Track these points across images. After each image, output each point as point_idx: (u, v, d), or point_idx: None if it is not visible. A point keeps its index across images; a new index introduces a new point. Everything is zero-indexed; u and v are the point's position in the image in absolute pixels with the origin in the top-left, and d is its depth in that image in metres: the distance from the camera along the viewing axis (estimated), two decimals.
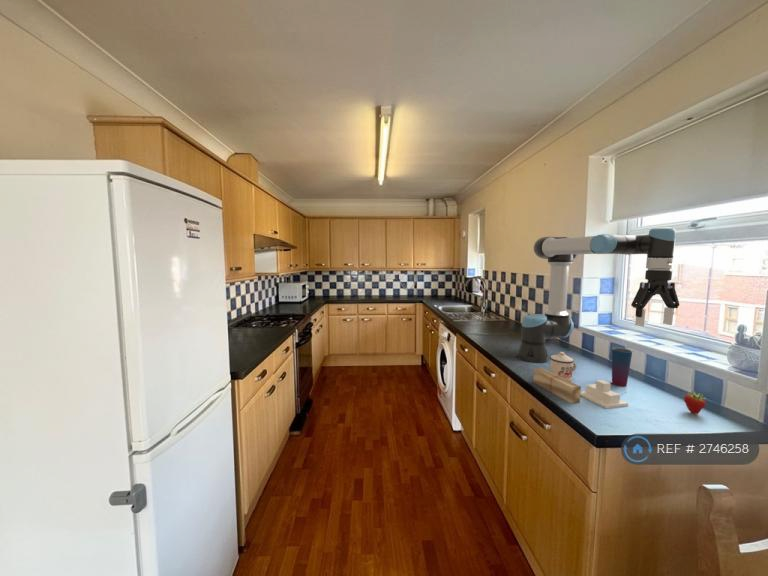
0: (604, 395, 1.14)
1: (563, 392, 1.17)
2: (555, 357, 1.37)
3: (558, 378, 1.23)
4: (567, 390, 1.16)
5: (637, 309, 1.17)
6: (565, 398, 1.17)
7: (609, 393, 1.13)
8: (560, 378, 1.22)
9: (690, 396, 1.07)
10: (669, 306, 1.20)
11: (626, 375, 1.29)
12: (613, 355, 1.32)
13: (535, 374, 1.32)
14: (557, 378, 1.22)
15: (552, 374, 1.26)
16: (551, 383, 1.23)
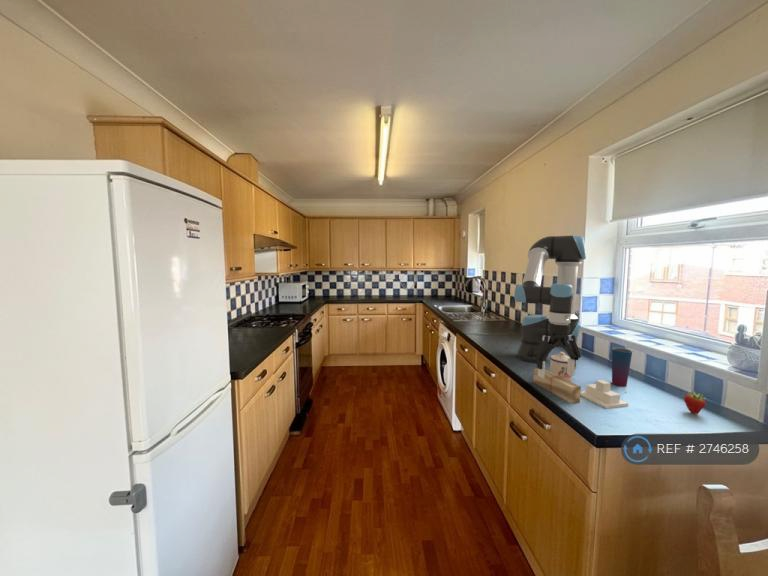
0: (604, 395, 1.14)
1: (563, 392, 1.17)
2: (555, 357, 1.37)
3: (558, 378, 1.23)
4: (567, 390, 1.16)
5: (538, 361, 1.21)
6: (565, 398, 1.17)
7: (609, 393, 1.13)
8: (560, 378, 1.22)
9: (690, 396, 1.07)
10: (571, 357, 1.24)
11: (626, 375, 1.29)
12: (613, 355, 1.32)
13: (535, 374, 1.32)
14: (557, 378, 1.22)
15: (552, 374, 1.26)
16: (551, 383, 1.23)
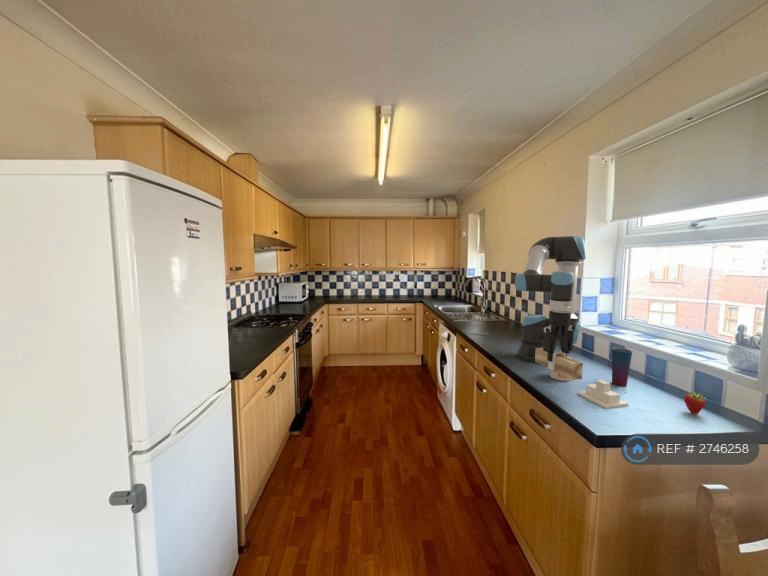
0: (604, 395, 1.14)
1: (565, 369, 1.17)
2: None
3: (560, 356, 1.22)
4: (569, 367, 1.15)
5: (548, 354, 1.22)
6: (567, 375, 1.16)
7: (609, 393, 1.13)
8: (562, 356, 1.22)
9: (690, 396, 1.07)
10: (563, 350, 1.24)
11: (626, 375, 1.29)
12: (613, 355, 1.32)
13: (536, 353, 1.32)
14: (559, 356, 1.22)
15: (554, 352, 1.26)
16: None
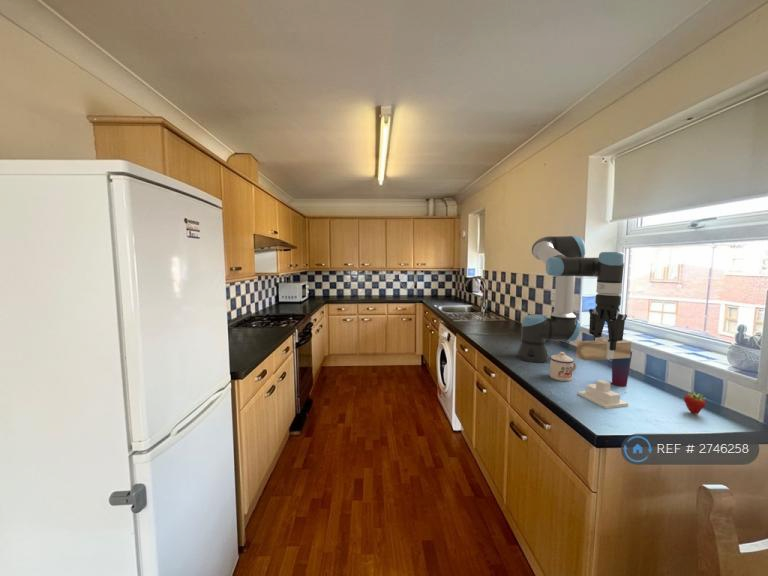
0: (604, 395, 1.14)
1: None
2: (555, 357, 1.37)
3: (602, 341, 1.15)
4: None
5: None
6: None
7: (609, 393, 1.13)
8: (602, 342, 1.14)
9: (690, 396, 1.07)
10: None
11: (626, 375, 1.29)
12: None
13: None
14: (599, 341, 1.15)
15: None
16: None
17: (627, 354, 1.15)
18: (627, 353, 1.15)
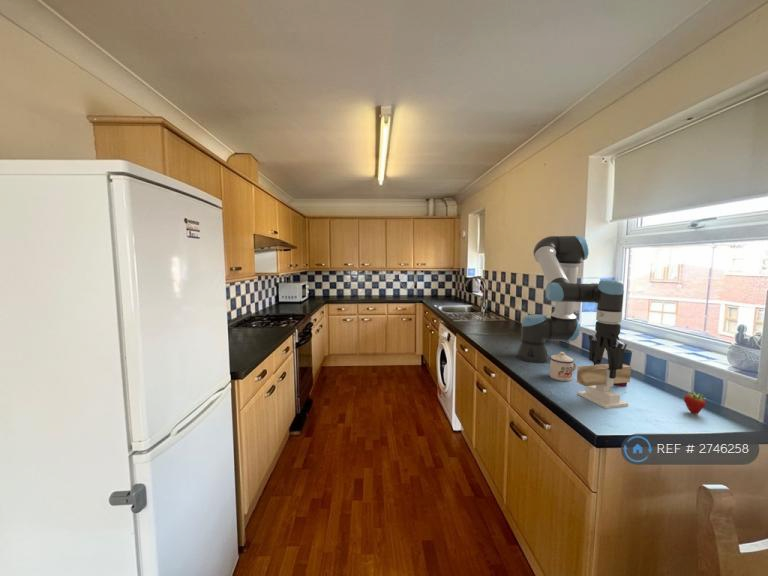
0: (604, 395, 1.14)
1: None
2: (555, 357, 1.37)
3: (602, 366, 1.15)
4: None
5: None
6: None
7: (609, 393, 1.13)
8: (602, 367, 1.15)
9: (690, 396, 1.07)
10: None
11: None
12: None
13: None
14: (599, 366, 1.16)
15: None
16: None
17: (627, 378, 1.16)
18: (627, 377, 1.16)
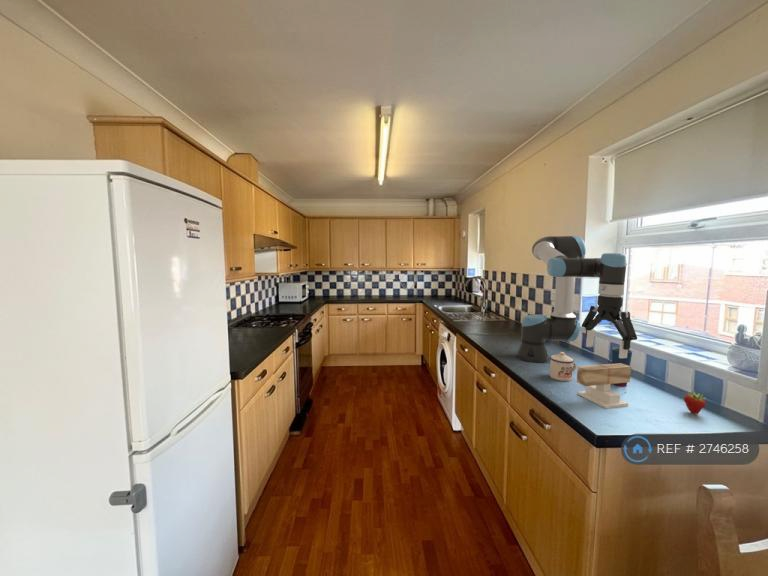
0: (604, 395, 1.14)
1: None
2: (555, 357, 1.37)
3: (602, 366, 1.15)
4: None
5: None
6: None
7: (609, 393, 1.13)
8: (602, 367, 1.15)
9: (690, 396, 1.07)
10: None
11: None
12: (613, 355, 1.32)
13: None
14: (599, 366, 1.16)
15: (611, 366, 1.16)
16: None
17: (627, 378, 1.16)
18: (627, 377, 1.16)
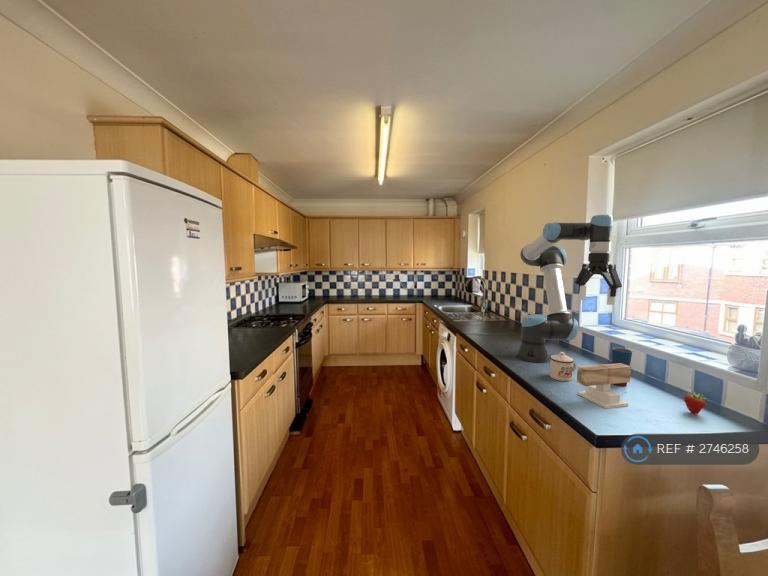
0: (604, 395, 1.14)
1: None
2: (555, 357, 1.37)
3: (602, 366, 1.15)
4: None
5: None
6: None
7: (609, 393, 1.13)
8: (602, 367, 1.15)
9: (690, 396, 1.07)
10: None
11: None
12: (613, 355, 1.32)
13: None
14: (599, 366, 1.16)
15: (611, 366, 1.16)
16: None
17: (627, 378, 1.16)
18: (627, 377, 1.16)
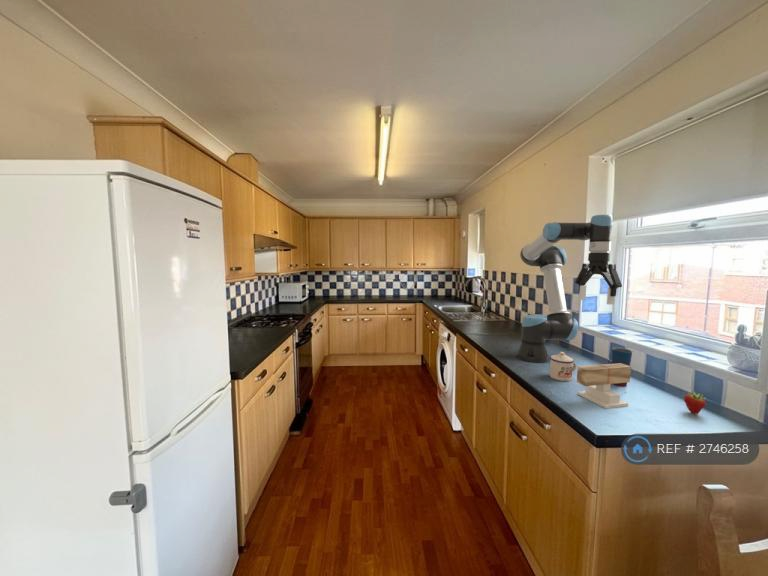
0: (604, 395, 1.14)
1: None
2: (555, 357, 1.37)
3: (602, 366, 1.15)
4: None
5: None
6: None
7: (609, 393, 1.13)
8: (602, 367, 1.15)
9: (690, 396, 1.07)
10: None
11: None
12: (613, 355, 1.32)
13: None
14: (599, 366, 1.16)
15: (611, 366, 1.16)
16: None
17: (627, 378, 1.16)
18: (627, 377, 1.16)
